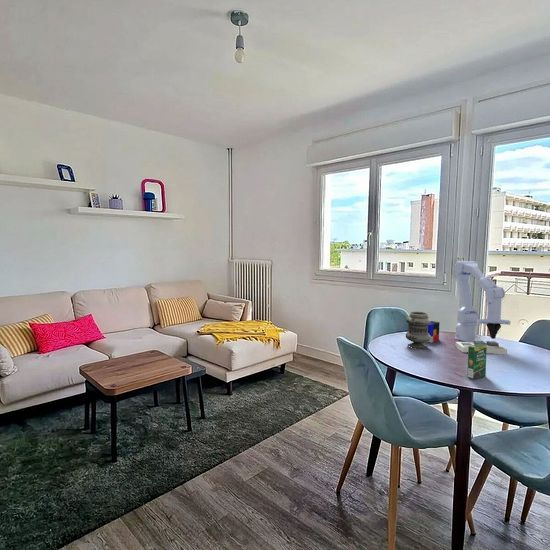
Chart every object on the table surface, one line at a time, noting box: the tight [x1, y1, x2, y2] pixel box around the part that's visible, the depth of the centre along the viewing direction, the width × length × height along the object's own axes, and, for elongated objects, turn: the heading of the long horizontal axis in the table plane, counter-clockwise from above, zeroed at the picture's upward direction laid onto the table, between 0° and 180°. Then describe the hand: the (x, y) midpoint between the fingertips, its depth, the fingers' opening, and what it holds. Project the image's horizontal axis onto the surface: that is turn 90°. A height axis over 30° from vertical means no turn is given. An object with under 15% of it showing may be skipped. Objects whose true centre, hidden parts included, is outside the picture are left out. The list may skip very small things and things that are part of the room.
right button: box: [485, 340, 500, 347], centre depth 178 cm, size 4×4×2 cm
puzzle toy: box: [427, 320, 440, 343], centre depth 198 cm, size 10×10×10 cm
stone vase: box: [405, 310, 432, 350], centre depth 183 cm, size 12×12×18 cm
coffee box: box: [466, 343, 487, 380], centre depth 141 cm, size 8×3×13 cm, turn 117°
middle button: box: [473, 340, 487, 345], centre depth 179 cm, size 4×4×2 cm
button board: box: [455, 341, 508, 355], centre depth 178 cm, size 20×10×3 cm, turn 81°
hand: (492, 338), depth 177 cm, fingers closed
